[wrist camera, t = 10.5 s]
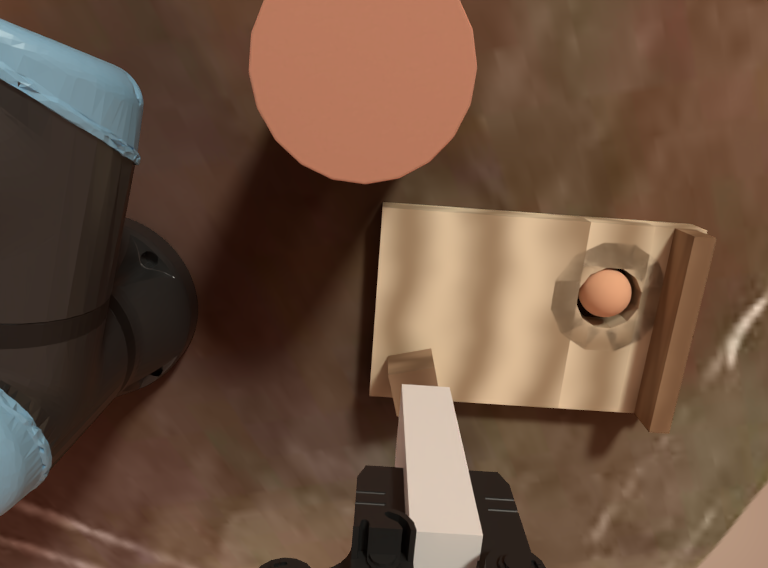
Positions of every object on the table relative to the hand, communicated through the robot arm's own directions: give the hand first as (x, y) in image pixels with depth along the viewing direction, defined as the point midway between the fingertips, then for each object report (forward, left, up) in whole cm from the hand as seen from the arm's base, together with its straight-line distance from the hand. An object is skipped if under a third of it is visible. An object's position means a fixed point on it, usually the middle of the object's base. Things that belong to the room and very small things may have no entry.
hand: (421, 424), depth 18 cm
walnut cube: (+2, -12, -28) cm, 30 cm away
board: (+11, -6, -30) cm, 33 cm away
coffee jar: (-3, +11, -31) cm, 33 cm away
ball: (+17, -4, -28) cm, 33 cm away
